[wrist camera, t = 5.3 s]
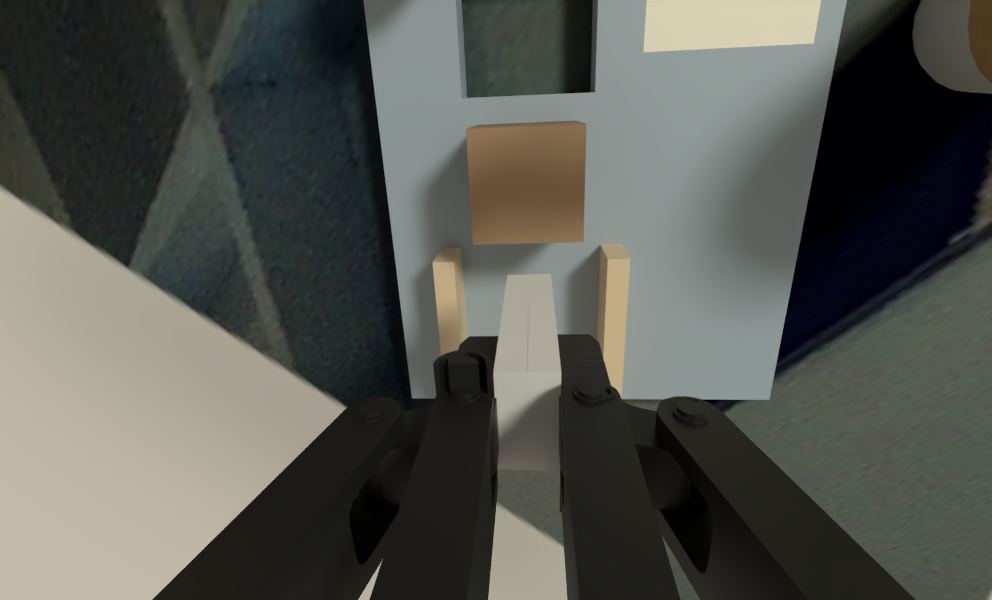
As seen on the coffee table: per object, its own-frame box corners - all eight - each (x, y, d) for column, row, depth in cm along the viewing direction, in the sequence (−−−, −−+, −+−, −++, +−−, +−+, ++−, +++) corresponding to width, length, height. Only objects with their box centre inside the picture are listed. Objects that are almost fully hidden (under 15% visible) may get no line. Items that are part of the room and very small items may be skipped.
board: (362, -123, 21) (320, -179, 17) (850, -163, 19) (937, -237, 15) (419, 380, 30) (401, 424, 26) (753, 380, 29) (791, 427, 24)
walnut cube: (478, 124, 22) (465, 128, 18) (576, 120, 22) (586, 123, 18) (483, 220, 24) (472, 244, 20) (574, 218, 24) (583, 242, 20)
